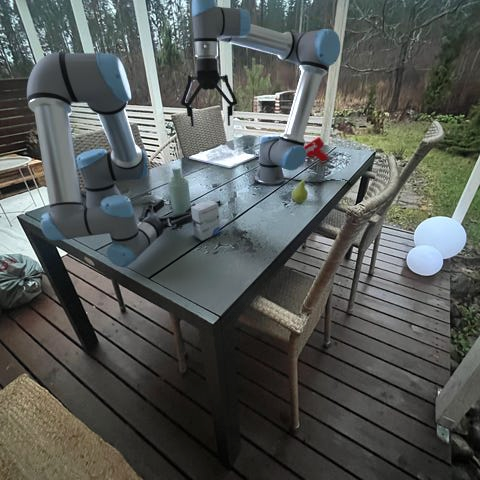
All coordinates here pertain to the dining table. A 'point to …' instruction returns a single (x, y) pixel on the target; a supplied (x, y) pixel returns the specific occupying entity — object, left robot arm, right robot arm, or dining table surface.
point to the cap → (216, 200)
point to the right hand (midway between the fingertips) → (210, 125)
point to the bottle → (179, 192)
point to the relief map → (223, 156)
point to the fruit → (300, 192)
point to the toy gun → (316, 149)
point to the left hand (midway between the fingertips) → (178, 204)
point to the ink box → (205, 219)
